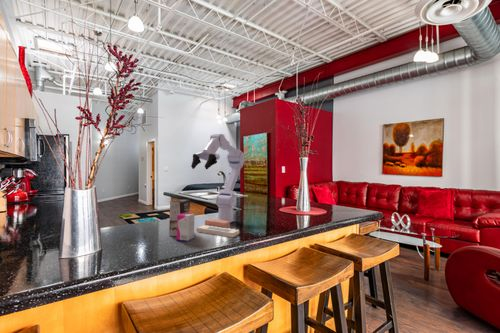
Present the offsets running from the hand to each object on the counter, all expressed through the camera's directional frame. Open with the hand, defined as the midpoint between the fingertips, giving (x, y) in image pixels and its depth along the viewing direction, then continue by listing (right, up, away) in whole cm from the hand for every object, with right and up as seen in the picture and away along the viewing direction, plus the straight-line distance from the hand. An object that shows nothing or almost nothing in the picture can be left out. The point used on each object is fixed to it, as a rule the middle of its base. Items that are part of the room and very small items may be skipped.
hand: (199, 167), depth 126 cm
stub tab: (+7, -32, +11) cm, 34 cm away
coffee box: (-9, -32, 0) cm, 33 cm away
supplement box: (-4, -32, -9) cm, 34 cm away
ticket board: (+9, -32, +3) cm, 34 cm away
